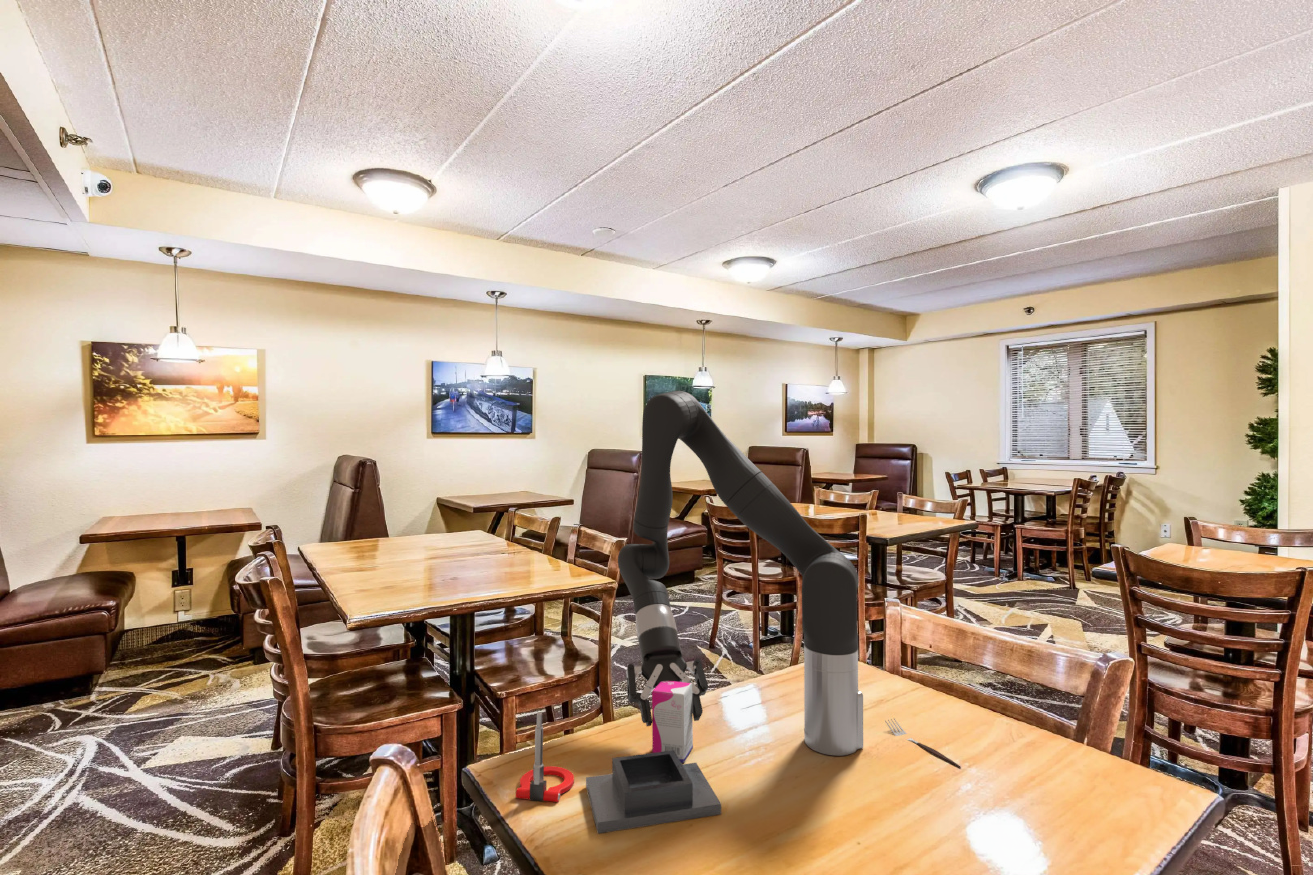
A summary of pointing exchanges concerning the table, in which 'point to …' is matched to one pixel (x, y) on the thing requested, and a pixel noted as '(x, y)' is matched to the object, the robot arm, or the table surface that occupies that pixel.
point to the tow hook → (538, 785)
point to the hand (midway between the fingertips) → (673, 721)
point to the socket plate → (649, 792)
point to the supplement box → (672, 718)
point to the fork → (921, 744)
